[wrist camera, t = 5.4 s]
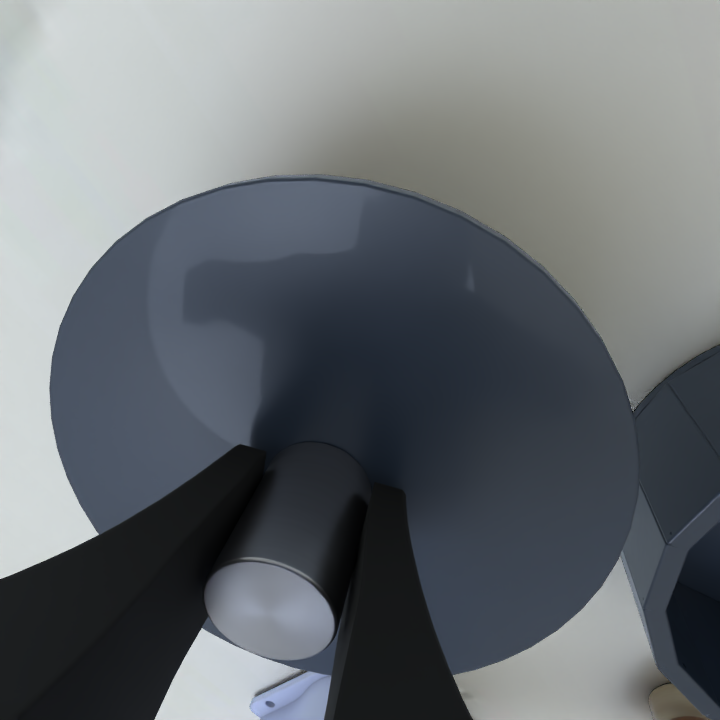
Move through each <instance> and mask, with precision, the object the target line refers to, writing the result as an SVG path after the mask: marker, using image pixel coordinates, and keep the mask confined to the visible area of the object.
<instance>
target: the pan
mask: <svg viewBox="0 0 720 720" xmlns="http://www.w3.org/2000/svg"><path fill="white" fill-rule="evenodd" d="M633 415H634V418H635V423H636V431H637V438H638V446H639V453H640V473H639V495H638V499H637V504H636V508H635V513H634V517H633V522H632V526H631V530H630V532H629V535H628V537H627V539H626V542H625V544H624V547H623V549H622V552H621V554H620V555H621V558H622V562H623V565H624V568H625V571H626V574H627V577H628V580H629V583H630V586H631V589H632V592H633V595H634V598H635V602H636V605H637V608H638V611H639V614H640V617H641V620H642V623H643V626H644V629H645V632H646V635H647V638H648V641H649V645H650V648H651V651H652V654H653V657H654V660H655V663H656V666H657V667H658V669H659V670H660V671H661V672H662V673H663V674H664V675H665V676H666V677H667V679H668V680H669V681H670V682H671V683H672V684H673V685H674V686H675V687H676V688H677V689H678V690H679V691H680V692H681V693H682V694H683V695H684V696H685V697H686V698H687V699H688V700H689V701H690V702H691V703H692V704H693V706H694V707H695V708H696V709H697V710H698V711H699V712H700V713H701V714H702V715H704V716H705V717H707V718H709V719H711V720H720V345H718V346H716V347H714V348H712V349H710V350H708V351H707V352H705V353H703V354H701V355H699V356H697V357H696V358H694V359H693V360H691V361H690V362H688V363H687V364H685V365H684V366H682V367H681V368H679V369H678V370H676V371H675V372H674V373H672V374H671V375H670V376H669V377H668V378H666V379H665V380H664V381H663V382H662V383H660V384H659V385H658V386H657V387H656V388H655V389H654V390H653V391H652V392H651V393H650V394H649V395H648V396H647V397H646V398H645V399H644V400H643V401H642V402H641V403H640V404H639V406H638V407H637V408H636V410H635V411H634V413H633Z"/></svg>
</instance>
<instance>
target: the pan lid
mask: <svg viewBox="0 0 720 720" xmlns="http://www.w3.org/2000/svg"><path fill="white" fill-rule="evenodd" d="M49 389H50V405H51V419H52V424H53V429H54V434H55V439H56V444H57V449H58V452H59V455H60V458H61V461H62V464H63V467H64V470H65V472H66V475H67V478H68V480H69V482H70V484H71V486H72V489H73V491H74V493H75V495H76V497H77V499H78V501H79V503H80V505H81V507H82V508H83V510H84V512H85V513H86V515H87V517H88V518H89V520H90V521H91V523H92V525H93V526H94V528H95V530H96V531H97V532H98V534H99V535H100V534H102V533H103V532H105V531H107V530H109V529H111V528H113V527H114V526H116V525H118V524H120V523H122V522H123V521H125V520H127V519H128V518H130V517H132V516H133V515H135V514H137V513H138V512H140V511H142V510H143V509H145V508H147V507H148V506H150V505H152V504H153V503H155V502H157V501H158V500H160V499H161V498H163V497H164V496H166V495H167V494H169V493H170V492H172V491H173V490H175V489H176V488H178V487H179V486H181V485H182V484H184V483H185V482H187V481H188V480H190V479H191V478H193V477H194V476H195V475H197V474H198V473H200V472H201V471H202V470H204V469H205V468H207V467H208V466H209V465H211V464H212V463H213V462H215V461H216V460H217V459H219V458H220V457H221V456H223V455H224V454H225V453H227V452H228V451H229V450H231V449H232V448H233V447H235V446H237V445H239V444H242V445H246V446H249V447H253V448H256V449H260V450H264V451H267V452H266V459H265V466H264V473H263V478H262V479H261V481H260V483H259V485H258V487H257V488H256V490H255V492H254V494H253V496H252V497H251V499H250V501H249V503H248V505H247V506H246V508H245V510H244V512H243V513H242V515H241V517H240V519H239V521H238V522H237V524H236V526H235V528H234V530H233V531H232V533H231V535H230V537H229V539H228V540H227V542H226V544H225V546H224V547H223V549H222V551H221V553H220V555H219V556H218V558H217V560H216V562H215V564H214V565H213V567H212V569H211V571H210V573H209V574H208V576H207V578H206V580H205V582H204V586H203V603H204V607H205V610H206V612H207V614H208V618H207V619H206V621H205V623H204V625H203V626H202V628H203V629H205V630H206V631H208V632H210V633H212V634H214V635H215V636H217V637H219V638H221V639H223V640H225V641H227V642H229V643H231V644H233V645H235V646H237V647H239V648H242V649H244V650H246V651H249V652H251V653H254V654H256V655H258V656H261V657H263V658H266V659H269V660H272V661H275V662H278V663H281V664H284V665H287V666H290V667H294V668H298V669H302V670H306V671H310V672H314V673H319V674H323V675H330V676H332V670H333V664H334V658H335V651H336V645H337V639H338V633H339V627H340V621H341V615H342V612H343V608H344V604H345V600H346V596H347V592H348V588H349V584H350V580H351V576H352V572H353V569H354V565H355V560H356V555H357V550H358V544H359V539H360V536H361V532H362V528H363V524H364V520H365V516H366V512H367V509H368V505H369V501H370V497H371V493H372V490H373V486H374V482H377V483H381V484H384V485H388V486H391V487H395V488H398V489H402V490H403V491H404V493H405V494H406V507H407V518H408V526H409V532H410V538H411V544H412V549H413V553H414V558H415V562H416V566H417V571H418V575H419V579H420V583H421V586H422V590H423V594H424V597H425V600H426V604H427V607H428V610H429V613H430V617H431V620H432V623H433V626H434V629H435V632H436V634H437V637H438V640H439V643H440V645H441V648H442V651H443V653H444V656H445V658H446V661H447V664H448V666H449V668H450V671H451V673H452V675H455V674H459V673H464V672H468V671H473V670H476V669H479V668H482V667H485V666H488V665H491V664H494V663H497V662H500V661H503V660H505V659H507V658H509V657H511V656H514V655H516V654H518V653H520V652H522V651H524V650H526V649H528V648H530V647H532V646H534V645H535V644H537V643H538V642H540V641H542V640H543V639H545V638H546V637H548V636H549V635H551V634H552V633H554V632H556V631H557V630H558V629H559V628H561V627H562V626H563V625H564V624H565V623H566V622H568V621H569V620H570V619H571V618H572V617H574V616H575V615H576V614H577V613H578V612H579V611H581V609H582V608H583V607H584V606H585V605H586V604H587V603H588V601H589V600H590V599H591V598H592V597H593V596H594V595H595V593H596V592H597V591H598V590H599V589H600V588H601V586H602V585H603V583H604V582H605V580H606V578H607V577H608V575H609V574H610V572H611V570H612V569H613V567H614V566H615V564H616V562H617V561H618V559H619V557H620V554H621V552H622V549H623V547H624V544H625V542H626V539H627V537H628V535H629V532H630V530H631V526H632V522H633V517H634V513H635V508H636V504H637V499H638V495H639V473H640V453H639V446H638V438H637V431H636V423H635V418H634V415H633V412H632V409H631V405H630V402H629V399H628V396H627V392H626V389H625V386H624V383H623V380H622V378H621V376H620V374H619V372H618V370H617V368H616V366H615V364H614V362H613V360H612V358H611V356H610V354H609V352H608V350H607V348H606V346H605V344H604V342H603V340H602V339H601V337H600V335H599V333H598V332H597V331H596V329H595V328H594V326H593V325H592V324H591V322H590V321H589V319H588V318H587V317H586V315H585V314H584V312H583V311H582V309H581V308H580V307H579V305H578V304H577V302H576V301H575V300H574V298H573V297H572V296H571V295H570V294H569V293H568V292H567V291H566V290H565V289H564V288H563V287H562V286H561V285H560V284H559V283H558V282H557V281H556V280H555V278H554V277H553V276H552V275H551V274H550V273H549V272H548V271H547V270H546V269H545V268H544V267H543V266H542V265H541V264H540V263H538V262H537V261H536V260H534V259H533V258H532V257H531V256H529V255H528V254H527V253H526V252H524V251H523V250H522V249H520V248H519V247H518V246H517V245H515V244H514V243H513V242H511V241H510V240H509V239H508V238H506V237H505V236H504V235H502V234H500V233H499V232H497V231H495V230H493V229H492V228H490V227H488V226H487V225H485V224H483V223H481V222H480V221H478V220H476V219H474V218H473V217H471V216H469V215H468V214H466V213H464V212H462V211H460V210H458V209H455V208H453V207H451V206H448V205H446V204H443V203H441V202H438V201H436V200H434V199H431V198H429V197H426V196H424V195H421V194H419V193H417V192H413V191H409V190H405V189H401V188H398V187H394V186H390V185H386V184H382V183H378V182H375V181H371V180H365V179H356V178H348V177H339V176H331V175H322V174H315V175H275V176H269V177H263V178H257V179H251V180H246V181H240V182H234V183H230V184H227V185H224V186H221V187H218V188H215V189H212V190H209V191H206V192H203V193H200V194H197V195H194V196H191V197H188V198H185V199H182V200H180V201H178V202H176V203H174V204H173V205H171V206H169V207H167V208H165V209H163V210H161V211H159V212H157V213H155V214H153V215H152V216H150V217H148V218H146V219H145V220H143V221H142V222H141V223H139V224H138V225H137V226H135V227H134V228H133V229H131V230H130V231H129V232H128V233H126V234H125V235H124V236H122V237H121V238H120V239H118V240H117V241H116V242H115V243H114V244H113V245H112V246H111V247H110V248H109V249H108V250H107V252H106V253H105V254H104V255H103V256H102V257H101V258H100V259H99V260H98V261H97V262H96V263H95V264H94V265H93V266H92V268H91V269H90V271H89V272H88V274H87V275H86V277H85V278H84V280H83V282H82V283H81V285H80V286H79V288H78V289H77V291H76V292H75V294H74V295H73V297H72V299H71V302H70V304H69V306H68V309H67V311H66V313H65V316H64V318H63V320H62V323H61V325H60V328H59V332H58V336H57V340H56V344H55V348H54V352H53V356H52V365H51V376H50V388H49Z"/></svg>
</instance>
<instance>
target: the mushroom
mask: <svg viewBox="0 0 720 720" xmlns="http://www.w3.org/2000/svg"><path fill="white" fill-rule="evenodd" d="M648 701H649V706H650V709H651V713H652V716H653V719H654V720H711V719H709V718H707V717H705V716H704V715H702V714H701V713H700V712H699V711H698V710H697V709H696V708H695V707H694V706H693V704H692V703H691V702H690V701H689V700H688V699H687V698H686V697H685V696H684V695H683V694H682V693H681V692H680V691H679V690H678V689H677V688H676V687H675V686H674V685H673V684H672V683H670V684H665V685H662V686H659V687H658V688H656V689H654V690H653V691H652V692H651V694H650V696H649V700H648Z"/></svg>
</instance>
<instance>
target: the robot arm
mask: <svg viewBox="0 0 720 720" xmlns="http://www.w3.org/2000/svg"><path fill="white" fill-rule="evenodd" d="M266 452H267V451H264V450H260V449H256V448H253V447H249V446H246V445H242V444H239V445H237V446H235V447H233V448H232V449H231V450H229V451H228V452H227V453H225V454H224V455H223V456H221V457H220V458H219V459H217V460H216V461H215V462H213V463H212V464H211V465H209V466H208V467H207V468H205V469H204V470H202V471H201V472H200V473H198V474H197V475H195V476H194V477H193V478H191V479H190V480H188V481H187V482H185V483H184V484H182V485H181V486H179V487H178V488H176V489H175V490H173V491H172V492H170V493H169V494H167V495H166V496H164V497H163V498H161V499H160V500H158V501H157V502H155V503H153V504H152V505H150V506H148V507H147V508H145V509H143V510H142V511H140V512H138V513H137V514H135V515H133V516H132V517H130V518H128V519H127V520H125V521H123V522H122V523H120V524H118V525H116V526H114V527H113V528H111V529H109V530H107V531H105V532H103V533H102V534H100V535H98V536H96V537H94V538H92V539H90V540H88V541H86V542H84V543H82V544H80V545H78V546H76V547H74V548H72V549H70V550H68V551H65V552H63V553H61V554H59V555H57V556H54V557H52V558H50V559H48V560H46V561H43V562H41V563H39V564H36V565H34V566H32V567H29V568H27V569H25V570H22V571H20V572H18V573H15V574H13V575H10V576H8V577H5V578H2V579H0V720H154V719H155V717H156V715H157V713H158V710H159V708H160V706H161V704H162V702H163V700H164V697H165V695H166V693H167V691H168V689H169V687H170V685H171V682H172V680H173V678H174V676H175V675H176V673H177V671H178V669H179V667H180V665H181V663H182V661H183V659H184V657H185V656H186V654H187V652H188V651H189V649H190V647H191V645H192V644H193V642H194V640H195V638H196V637H197V635H198V633H199V631H200V630H201V628H202V626H203V625H204V623H205V621H206V619H207V618H208V614H207V612H206V610H205V607H204V603H203V586H204V582H205V580H206V578H207V576H208V574H209V573H210V571H211V569H212V567H213V565H214V564H215V562H216V560H217V558H218V556H219V555H220V553H221V551H222V549H223V547H224V546H225V544H226V542H227V540H228V539H229V537H230V535H231V533H232V531H233V530H234V528H235V526H236V524H237V522H238V521H239V519H240V517H241V515H242V513H243V512H244V510H245V508H246V506H247V505H248V503H249V501H250V499H251V497H252V496H253V494H254V492H255V490H256V488H257V487H258V485H259V483H260V481H261V479H262V478H263V473H264V466H265V459H266ZM250 709H251V711H252V712H253V713H254V714H256V715H257V716H258V717H259V718H261V719H260V720H473V719H472V717H471V715H470V713H469V711H468V709H467V707H466V705H465V703H464V701H463V699H462V697H461V694H460V692H459V690H458V687H457V685H456V683H455V680H454V678H453V676H452V673H451V671H450V668H449V666H448V664H447V661H446V658H445V656H444V653H443V651H442V648H441V645H440V643H439V640H438V637H437V634H436V632H435V629H434V626H433V623H432V620H431V617H430V613H429V610H428V607H427V604H426V600H425V597H424V594H423V590H422V586H421V583H420V579H419V575H418V571H417V566H416V562H415V558H414V553H413V549H412V544H411V538H410V532H409V526H408V518H407V507H406V494H405V493H404V491H403V490H402V489H398V488H395V487H391V486H388V485H384V484H381V483H377V482H374V486H373V490H372V493H371V497H370V501H369V505H368V509H367V512H366V516H365V520H364V524H363V528H362V532H361V536H360V539H359V544H358V550H357V555H356V560H355V565H354V569H353V572H352V576H351V580H350V584H349V588H348V592H347V596H346V600H345V604H344V608H343V612H342V615H341V621H340V627H339V633H338V639H337V645H336V651H335V658H334V664H333V670H332V676H330V675H323V674H319V673H314V672H310V671H308V672H306V673H304V674H302V675H300V676H298V677H296V678H294V679H292V680H290V681H287V682H285V683H283V684H281V685H279V686H277V687H275V688H273V689H271V690H269V691H267V692H265V693H263V694H261V695H259V696H256V697H254V698H253V699H252V701H251V704H250Z"/></svg>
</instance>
